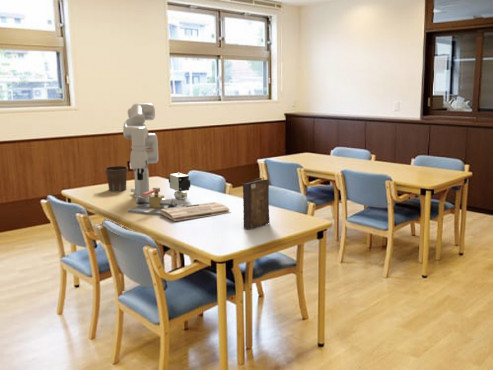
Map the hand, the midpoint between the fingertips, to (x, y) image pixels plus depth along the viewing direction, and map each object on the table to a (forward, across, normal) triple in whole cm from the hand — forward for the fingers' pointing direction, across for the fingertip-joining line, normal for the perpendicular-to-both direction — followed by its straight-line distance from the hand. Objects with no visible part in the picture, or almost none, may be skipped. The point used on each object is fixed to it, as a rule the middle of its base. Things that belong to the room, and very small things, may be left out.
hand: (140, 179), depth 285 cm
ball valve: (+19, 0, +40) cm, 45 cm away
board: (+20, +3, +10) cm, 22 cm away
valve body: (+18, +3, +10) cm, 21 cm away
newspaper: (+19, +31, +11) cm, 38 cm away
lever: (+9, +4, +4) cm, 11 cm away
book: (+21, +73, +4) cm, 76 cm away
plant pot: (+19, -57, +43) cm, 74 cm away
